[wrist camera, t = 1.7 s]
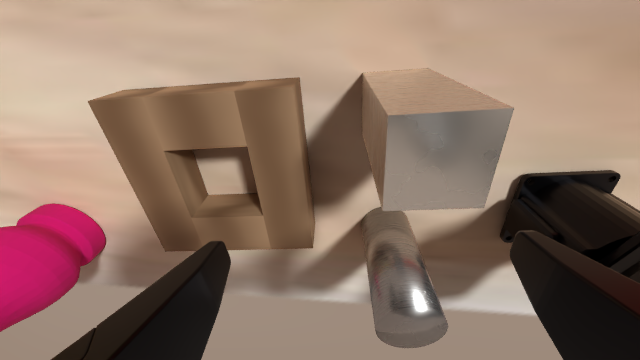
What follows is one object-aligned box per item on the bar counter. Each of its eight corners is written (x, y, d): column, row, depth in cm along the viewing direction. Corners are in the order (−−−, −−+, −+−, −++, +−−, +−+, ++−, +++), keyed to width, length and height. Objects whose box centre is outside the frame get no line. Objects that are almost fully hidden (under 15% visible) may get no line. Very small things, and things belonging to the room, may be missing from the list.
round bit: (410, 205, 21) (453, 307, 14) (406, 241, 23) (441, 348, 16) (361, 207, 22) (376, 308, 14) (361, 242, 24) (374, 347, 16)
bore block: (299, 77, 17) (293, 87, 14) (315, 222, 23) (312, 248, 20) (123, 90, 18) (87, 101, 15) (183, 226, 24) (165, 251, 21)
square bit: (427, 68, 16) (514, 107, 8) (420, 130, 18) (483, 207, 10) (362, 72, 16) (387, 115, 9) (362, 133, 18) (382, 211, 11)
